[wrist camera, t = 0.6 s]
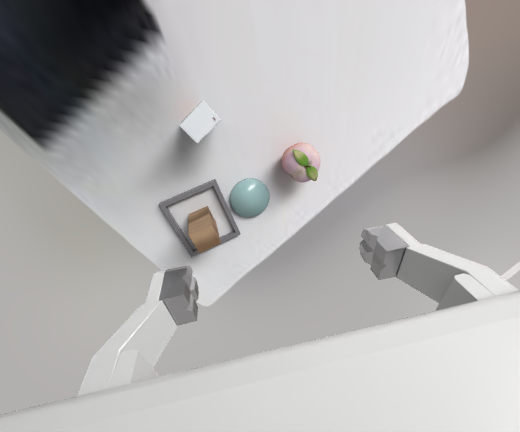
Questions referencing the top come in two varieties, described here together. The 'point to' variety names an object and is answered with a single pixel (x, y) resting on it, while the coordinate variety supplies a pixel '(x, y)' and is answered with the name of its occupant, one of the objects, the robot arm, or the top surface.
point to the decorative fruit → (301, 162)
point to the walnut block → (203, 230)
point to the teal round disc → (249, 197)
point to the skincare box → (200, 122)
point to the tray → (187, 194)
